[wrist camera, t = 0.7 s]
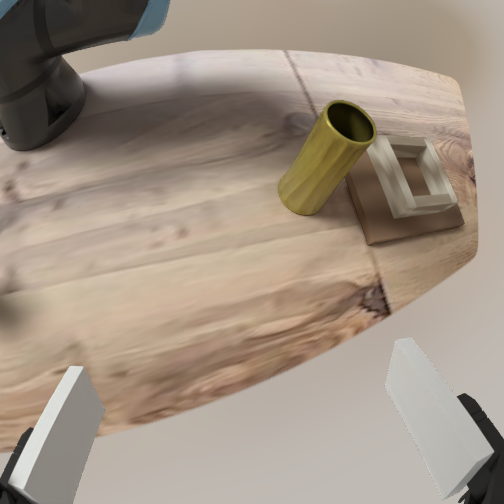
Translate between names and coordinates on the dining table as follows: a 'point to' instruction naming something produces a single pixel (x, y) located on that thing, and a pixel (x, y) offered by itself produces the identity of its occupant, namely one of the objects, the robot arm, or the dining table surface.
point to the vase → (326, 156)
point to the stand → (402, 190)
